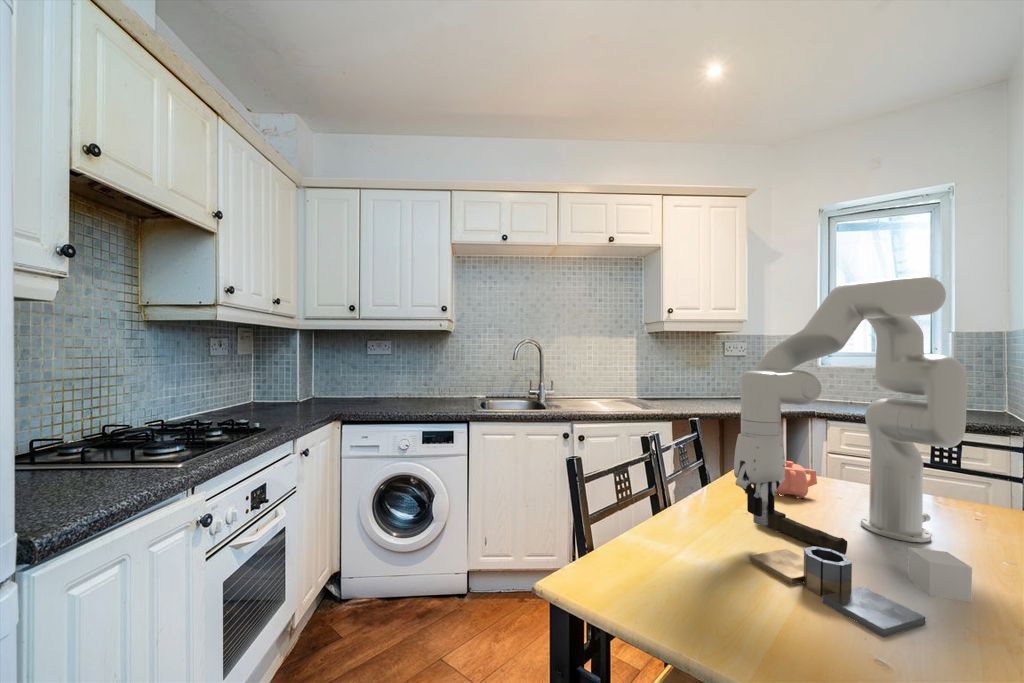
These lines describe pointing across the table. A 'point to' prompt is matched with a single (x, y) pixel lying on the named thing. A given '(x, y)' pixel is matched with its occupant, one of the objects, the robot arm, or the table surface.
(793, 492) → the teapot
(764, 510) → the hinge pin
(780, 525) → the hand tool
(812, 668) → the table surface
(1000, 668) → the table surface
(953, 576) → the light grey cube
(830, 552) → the hinge
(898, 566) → the table surface
